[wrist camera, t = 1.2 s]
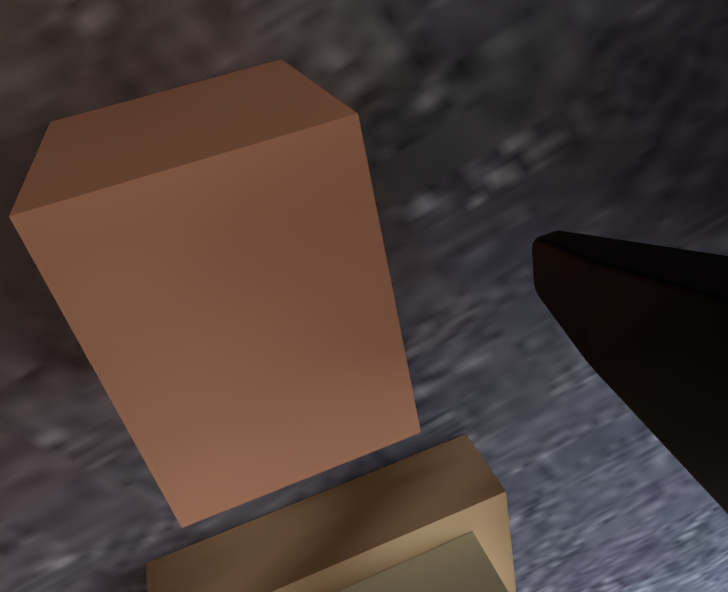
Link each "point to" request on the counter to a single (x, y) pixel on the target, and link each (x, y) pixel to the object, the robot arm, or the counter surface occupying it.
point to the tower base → (353, 530)
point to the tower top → (439, 571)
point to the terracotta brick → (225, 281)
